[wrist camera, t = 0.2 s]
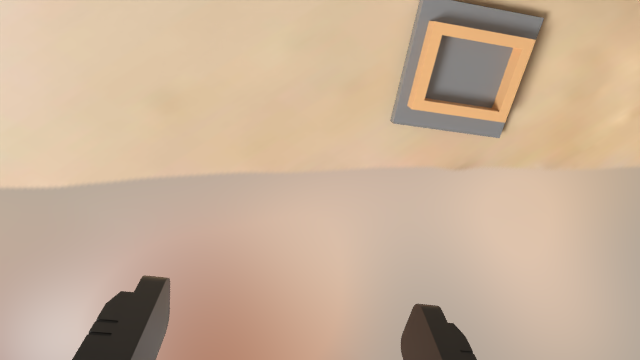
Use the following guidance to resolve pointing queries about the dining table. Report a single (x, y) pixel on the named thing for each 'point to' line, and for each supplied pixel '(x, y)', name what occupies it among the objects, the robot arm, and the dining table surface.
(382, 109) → the dining table surface
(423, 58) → the plate
